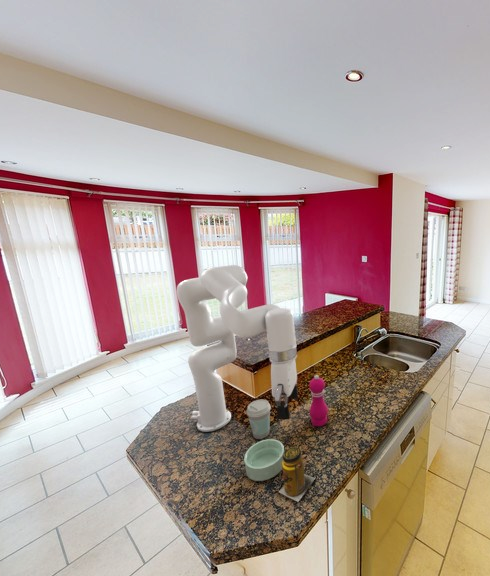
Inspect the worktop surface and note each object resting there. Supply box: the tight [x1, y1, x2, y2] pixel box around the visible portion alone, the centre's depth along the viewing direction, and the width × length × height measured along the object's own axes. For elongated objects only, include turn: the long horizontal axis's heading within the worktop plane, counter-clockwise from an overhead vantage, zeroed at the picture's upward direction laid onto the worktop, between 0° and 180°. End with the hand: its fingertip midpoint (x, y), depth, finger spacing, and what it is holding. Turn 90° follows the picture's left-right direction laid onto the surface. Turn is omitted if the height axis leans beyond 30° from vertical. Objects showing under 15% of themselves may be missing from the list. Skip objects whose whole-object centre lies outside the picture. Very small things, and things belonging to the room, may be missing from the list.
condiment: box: [278, 446, 316, 503], centre depth 82 cm, size 7×8×12 cm
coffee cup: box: [246, 399, 272, 440], centre depth 105 cm, size 8×8×12 cm
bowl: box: [243, 438, 285, 482], centre depth 91 cm, size 12×12×5 cm
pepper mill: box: [308, 374, 329, 427], centre depth 110 cm, size 7×7×20 cm
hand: (288, 408), depth 82 cm, fingers open, 9 cm apart
